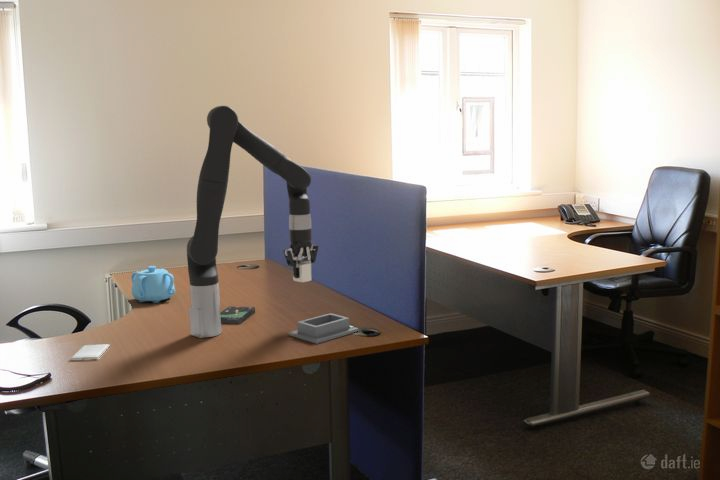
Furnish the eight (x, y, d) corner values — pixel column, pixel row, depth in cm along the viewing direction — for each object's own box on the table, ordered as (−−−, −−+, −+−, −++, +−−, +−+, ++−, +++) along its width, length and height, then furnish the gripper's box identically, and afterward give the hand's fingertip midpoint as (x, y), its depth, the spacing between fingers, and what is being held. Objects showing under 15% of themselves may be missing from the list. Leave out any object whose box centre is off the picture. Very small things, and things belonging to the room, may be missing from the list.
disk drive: (228, 313, 276) (213, 324, 262) (228, 306, 276) (213, 316, 261) (255, 314, 274) (241, 324, 260) (255, 306, 274) (241, 317, 259)
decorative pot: (133, 307, 288) (130, 272, 286) (131, 297, 303) (129, 264, 301) (176, 302, 293) (174, 268, 291) (172, 293, 308) (170, 261, 306)
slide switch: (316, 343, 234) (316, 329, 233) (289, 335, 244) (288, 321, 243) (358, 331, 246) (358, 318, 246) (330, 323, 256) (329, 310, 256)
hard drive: (83, 345, 236) (70, 357, 224) (109, 343, 237) (97, 356, 225) (84, 350, 237) (70, 362, 224) (110, 348, 237) (98, 361, 225)
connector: (302, 282, 253) (301, 262, 252) (293, 280, 257) (292, 260, 256) (311, 280, 256) (310, 260, 255) (302, 278, 259) (301, 258, 258)
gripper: (309, 223, 261) (310, 272, 264) (276, 228, 251) (278, 278, 254) (323, 225, 255) (324, 275, 258) (290, 230, 246) (292, 281, 249)
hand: (302, 276), depth 256 cm, fingers closed on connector, 4 cm apart
